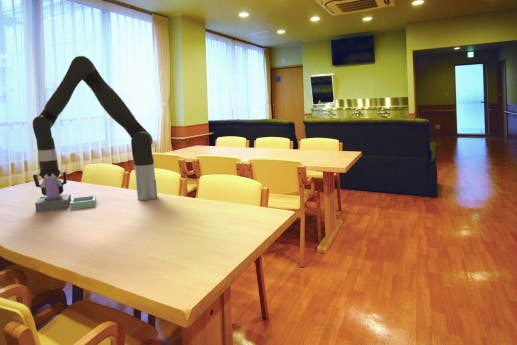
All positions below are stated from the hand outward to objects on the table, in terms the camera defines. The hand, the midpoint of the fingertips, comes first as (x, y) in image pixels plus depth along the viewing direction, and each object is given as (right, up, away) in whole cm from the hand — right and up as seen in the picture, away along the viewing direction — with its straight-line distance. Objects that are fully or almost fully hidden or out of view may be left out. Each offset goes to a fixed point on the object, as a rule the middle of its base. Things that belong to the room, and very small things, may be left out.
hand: (53, 194), depth 172 cm
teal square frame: (+14, -5, +2) cm, 15 cm away
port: (0, -6, +1) cm, 6 cm away
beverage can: (0, -6, +1) cm, 6 cm away
